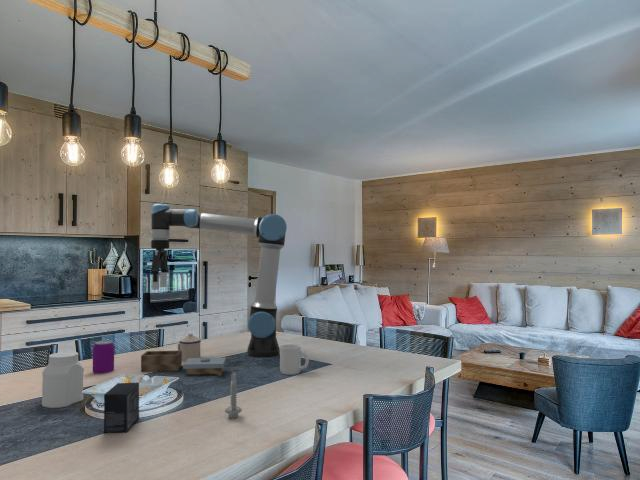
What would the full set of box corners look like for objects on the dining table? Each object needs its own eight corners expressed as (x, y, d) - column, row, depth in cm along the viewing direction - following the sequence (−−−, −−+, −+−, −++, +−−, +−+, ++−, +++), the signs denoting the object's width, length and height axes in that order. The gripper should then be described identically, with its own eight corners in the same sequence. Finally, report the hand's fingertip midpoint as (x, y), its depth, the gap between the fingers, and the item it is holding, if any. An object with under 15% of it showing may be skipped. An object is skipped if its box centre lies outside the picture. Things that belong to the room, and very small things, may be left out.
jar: (59, 409, 139) (60, 359, 140) (35, 406, 142) (36, 357, 142) (89, 397, 150) (89, 351, 150) (66, 394, 153) (66, 349, 153)
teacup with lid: (205, 359, 204) (205, 333, 204) (189, 363, 196) (189, 336, 196) (185, 356, 210) (186, 330, 210) (170, 360, 202) (170, 333, 202)
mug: (312, 371, 184) (312, 346, 184) (304, 377, 177) (304, 350, 177) (285, 369, 189) (285, 343, 189) (276, 374, 181) (276, 347, 181)
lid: (225, 361, 186) (226, 355, 186) (223, 368, 176) (223, 362, 176) (188, 362, 185) (188, 356, 185) (182, 368, 174) (183, 362, 174)
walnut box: (181, 367, 189) (181, 350, 189) (177, 372, 181) (177, 355, 182) (146, 368, 188) (146, 351, 188) (140, 373, 180) (141, 355, 180)
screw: (243, 418, 132) (226, 421, 131) (239, 413, 137) (223, 415, 135) (244, 373, 133) (227, 375, 131) (240, 369, 137) (223, 370, 135)
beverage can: (117, 372, 181) (117, 342, 181) (97, 376, 176) (97, 344, 176) (109, 369, 186) (109, 339, 187) (89, 372, 181) (89, 342, 181)
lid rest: (222, 371, 184) (222, 362, 184) (221, 375, 178) (221, 366, 178) (189, 372, 182) (189, 363, 182) (186, 376, 176) (186, 367, 176)
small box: (116, 419, 132) (117, 382, 132) (139, 418, 132) (140, 381, 133) (102, 433, 121) (102, 393, 121) (127, 433, 122) (128, 393, 122)
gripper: (158, 240, 213) (157, 286, 212) (143, 238, 188) (142, 290, 188) (175, 240, 214) (174, 286, 213) (162, 238, 189) (161, 290, 188)
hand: (159, 288), depth 200 cm, fingers open, 13 cm apart
